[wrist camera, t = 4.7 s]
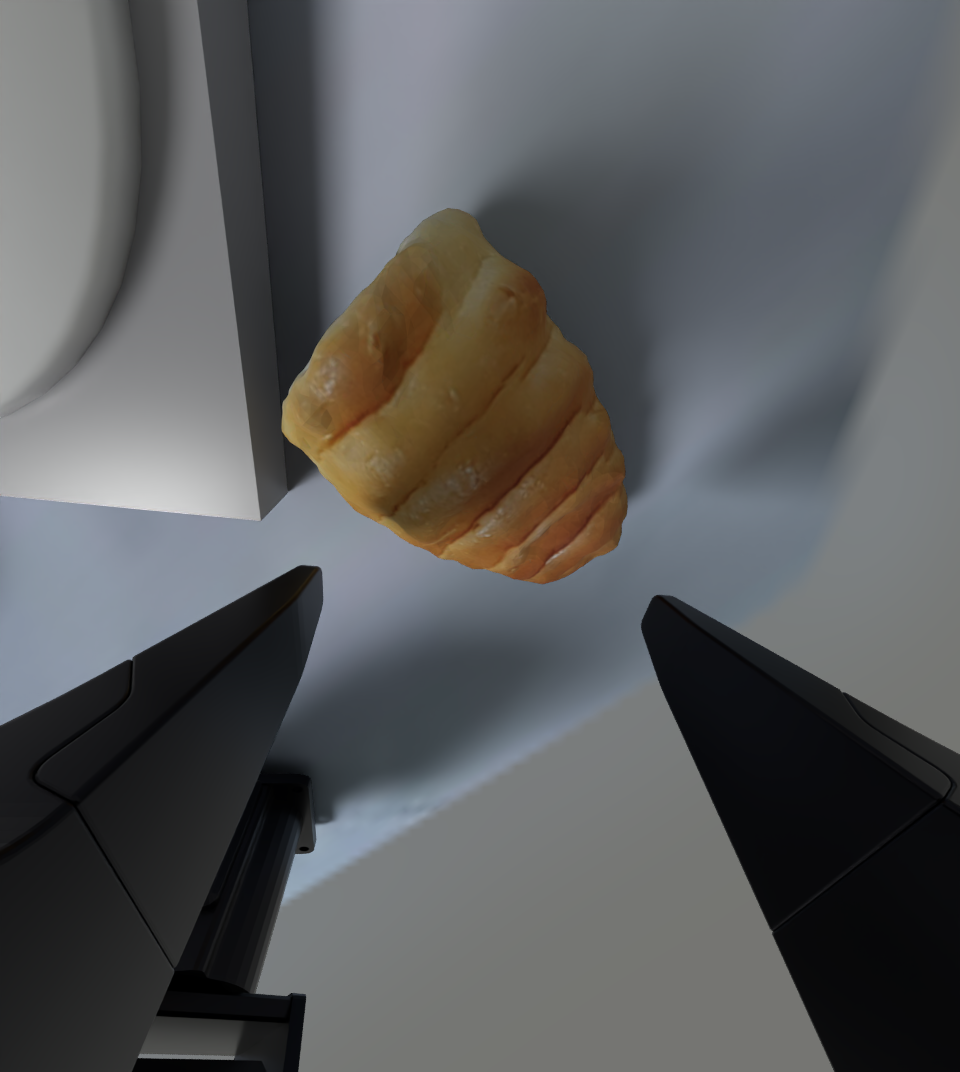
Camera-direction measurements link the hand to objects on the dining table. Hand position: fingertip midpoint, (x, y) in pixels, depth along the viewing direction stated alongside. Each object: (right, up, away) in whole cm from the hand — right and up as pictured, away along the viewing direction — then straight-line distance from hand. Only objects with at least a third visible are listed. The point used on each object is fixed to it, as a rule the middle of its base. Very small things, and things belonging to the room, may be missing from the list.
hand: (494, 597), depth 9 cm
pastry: (-1, +2, +5) cm, 6 cm away
